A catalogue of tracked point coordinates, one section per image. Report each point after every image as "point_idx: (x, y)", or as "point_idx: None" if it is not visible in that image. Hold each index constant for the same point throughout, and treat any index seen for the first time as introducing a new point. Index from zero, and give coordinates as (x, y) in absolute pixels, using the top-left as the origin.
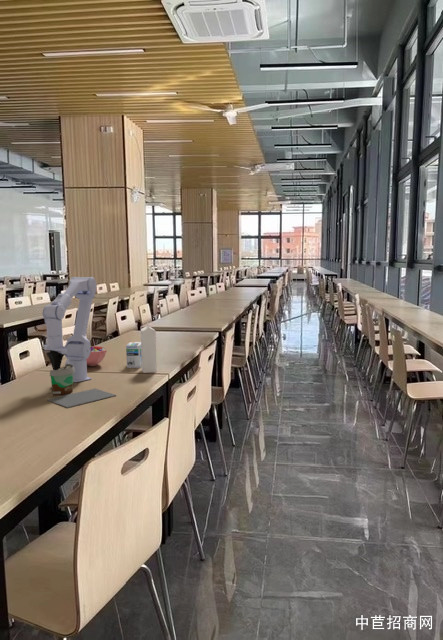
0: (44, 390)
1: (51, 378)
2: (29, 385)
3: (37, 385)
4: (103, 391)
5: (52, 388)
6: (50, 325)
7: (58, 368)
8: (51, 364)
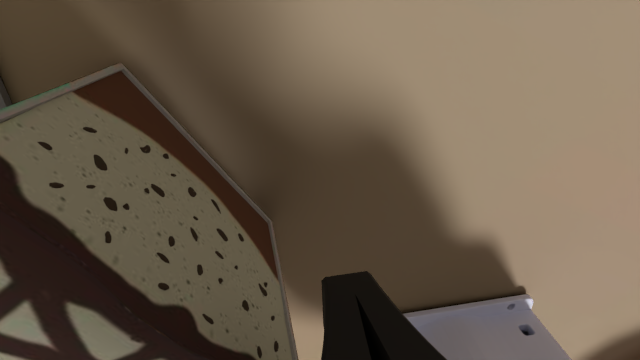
0: (367, 83)
1: (5, 113)
2: (620, 54)
3: (558, 105)
4: None
5: (81, 78)
6: None
7: (149, 331)
8: (407, 322)
